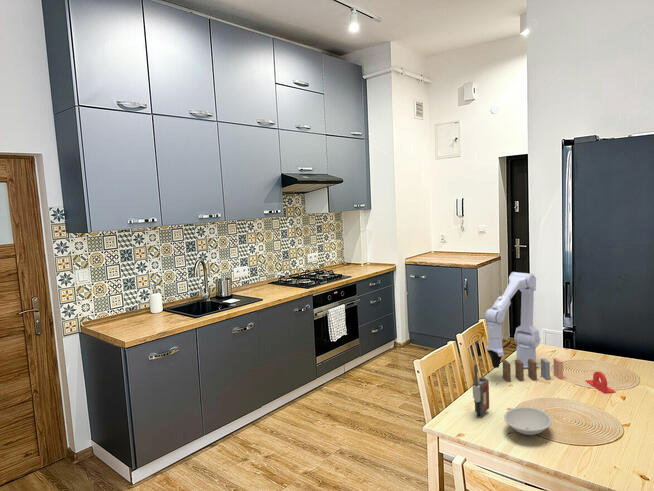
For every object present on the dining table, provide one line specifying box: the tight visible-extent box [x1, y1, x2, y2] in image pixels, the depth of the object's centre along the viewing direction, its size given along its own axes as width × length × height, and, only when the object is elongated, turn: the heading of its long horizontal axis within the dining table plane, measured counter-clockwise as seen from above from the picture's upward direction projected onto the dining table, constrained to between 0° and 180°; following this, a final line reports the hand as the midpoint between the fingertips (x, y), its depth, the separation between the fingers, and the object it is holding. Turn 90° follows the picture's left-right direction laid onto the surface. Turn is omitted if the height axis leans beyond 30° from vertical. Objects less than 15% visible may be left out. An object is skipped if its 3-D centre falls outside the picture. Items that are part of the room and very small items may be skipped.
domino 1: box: [514, 359, 525, 382], centre depth 192 cm, size 2×5×8 cm, turn 178°
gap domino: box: [540, 357, 551, 381], centre depth 191 cm, size 2×5×8 cm, turn 178°
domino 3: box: [553, 357, 564, 380], centre depth 191 cm, size 2×5×8 cm, turn 178°
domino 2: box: [527, 359, 538, 382], centre depth 192 cm, size 2×5×8 cm, turn 178°
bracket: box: [584, 371, 617, 395], centre depth 179 cm, size 12×4×8 cm, turn 3°
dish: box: [503, 406, 553, 436], centre depth 149 cm, size 18×14×5 cm
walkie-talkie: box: [472, 364, 490, 418], centre depth 163 cm, size 9×4×20 cm, turn 135°
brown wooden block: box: [502, 359, 512, 383], centre depth 192 cm, size 2×5×8 cm, turn 178°
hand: (495, 367), depth 192 cm, fingers closed
